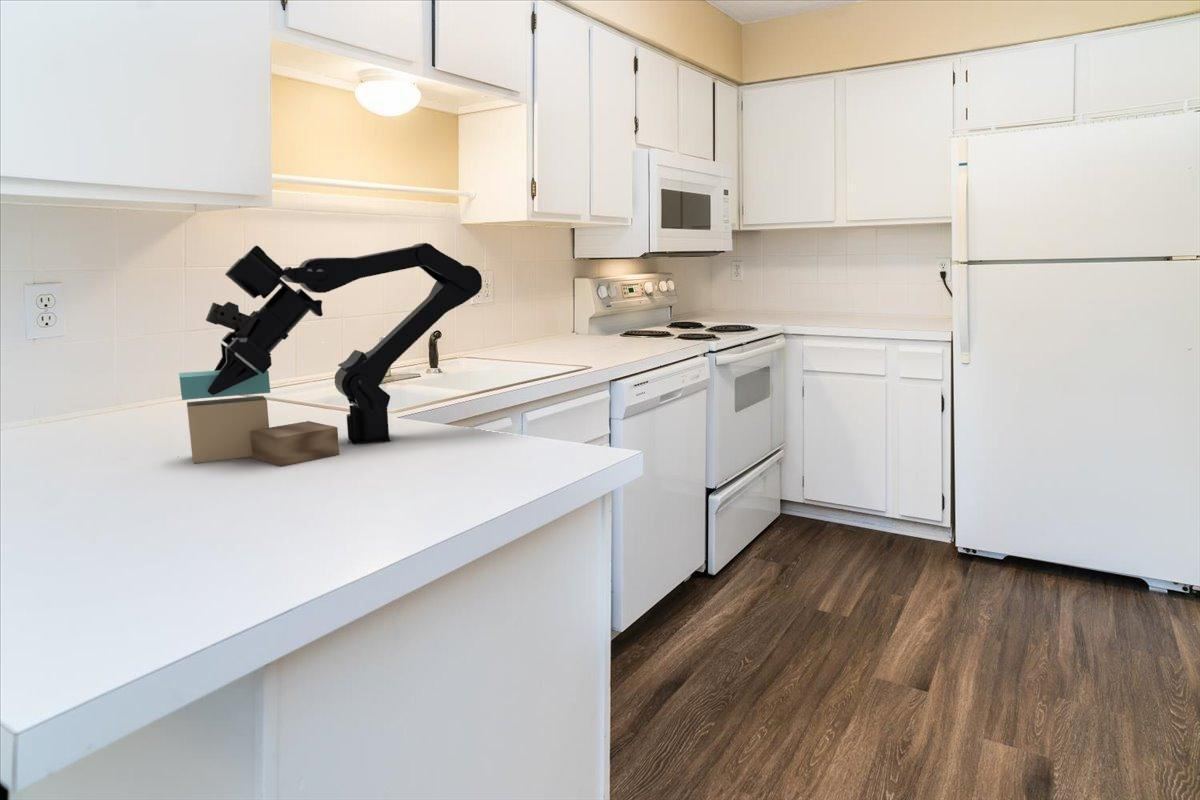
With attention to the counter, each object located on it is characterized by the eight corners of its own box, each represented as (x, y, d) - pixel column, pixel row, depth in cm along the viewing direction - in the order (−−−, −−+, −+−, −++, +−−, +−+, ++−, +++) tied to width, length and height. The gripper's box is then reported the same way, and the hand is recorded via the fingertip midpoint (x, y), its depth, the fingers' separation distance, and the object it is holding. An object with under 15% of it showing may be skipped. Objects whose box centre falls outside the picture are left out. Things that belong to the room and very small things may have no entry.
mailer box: (267, 448, 133) (262, 395, 132) (271, 454, 129) (266, 399, 127) (192, 456, 128) (186, 402, 127) (193, 463, 123) (187, 406, 122)
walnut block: (310, 447, 134) (308, 421, 133) (339, 454, 128) (337, 427, 127) (252, 458, 126) (250, 430, 125) (280, 466, 120) (278, 437, 120)
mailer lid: (265, 388, 133) (263, 367, 132) (270, 392, 127) (268, 371, 126) (181, 394, 127) (179, 373, 126) (182, 400, 121) (180, 377, 120)
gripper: (231, 283, 133) (163, 352, 130) (241, 284, 117) (164, 362, 114) (284, 328, 138) (221, 395, 135) (300, 334, 122) (229, 411, 119)
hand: (208, 390), depth 125 cm, fingers closed on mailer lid, 7 cm apart
